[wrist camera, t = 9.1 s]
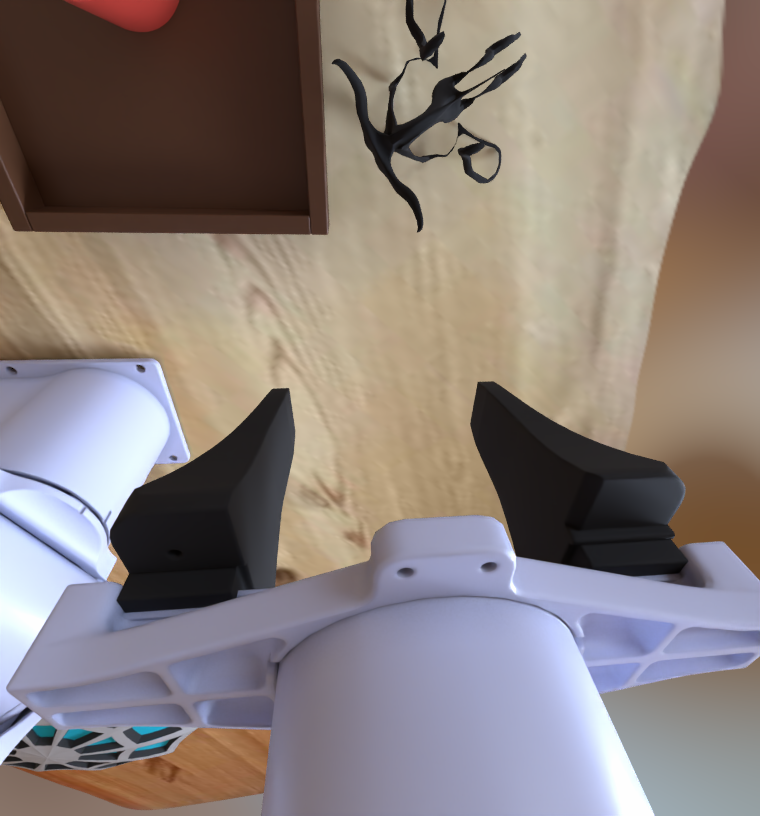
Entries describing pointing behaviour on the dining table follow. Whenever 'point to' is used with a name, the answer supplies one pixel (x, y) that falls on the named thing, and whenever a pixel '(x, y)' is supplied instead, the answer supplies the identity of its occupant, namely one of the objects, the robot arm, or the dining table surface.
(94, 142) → the tray
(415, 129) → the creature
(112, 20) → the peg doll
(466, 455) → the dining table surface
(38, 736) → the decorative platform
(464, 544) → the robot arm
